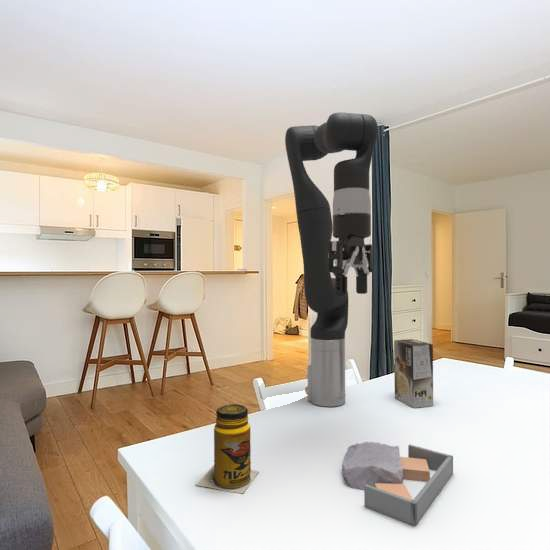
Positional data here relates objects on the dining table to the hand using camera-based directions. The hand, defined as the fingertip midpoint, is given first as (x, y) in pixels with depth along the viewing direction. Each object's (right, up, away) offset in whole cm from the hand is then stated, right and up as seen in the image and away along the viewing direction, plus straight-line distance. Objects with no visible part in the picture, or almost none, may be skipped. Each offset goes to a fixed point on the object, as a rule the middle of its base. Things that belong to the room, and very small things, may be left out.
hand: (351, 294), depth 80 cm
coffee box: (+22, -30, +26) cm, 46 cm away
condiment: (-23, -31, -13) cm, 41 cm away
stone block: (+1, -31, -12) cm, 33 cm away
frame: (+6, -30, -17) cm, 35 cm away
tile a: (+2, -31, -20) cm, 37 cm away
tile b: (+8, -30, -12) cm, 34 cm away
